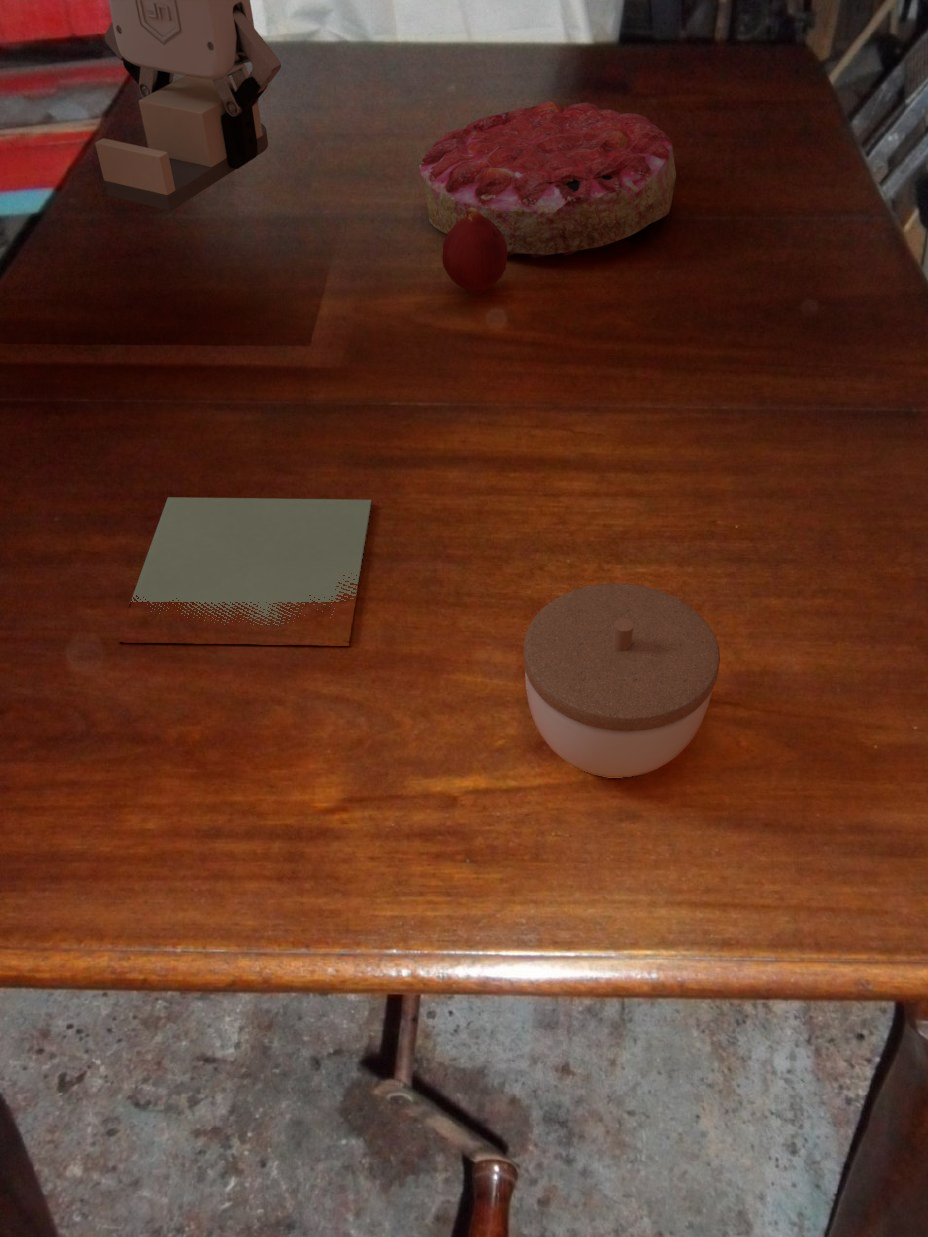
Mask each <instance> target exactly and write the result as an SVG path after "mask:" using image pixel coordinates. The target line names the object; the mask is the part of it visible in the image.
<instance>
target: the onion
mask: <svg viewBox="0 0 928 1237" xmlns="http://www.w3.org/2000/svg"><path fill="white" fill-rule="evenodd" d="M465 213H466V214H467V215H466V217H465V218H463V219H461V220H460V221H458V222H457V223H456V224H455V225H454V226H453V227H452V229H451V230H450V231H449V232H448V234H446V236H445V238H444V241H443V244H442V254H441V256H442V257H441V259H442V266H443V269H444V270H445V272H446V274H447V275H448V277H449V278H450V279H451V281H452V282H453V283H455V284H456V285H457V286H459V287H461V288H462V289H464V290H465V291H466V292H467V293H468V294H469V295H471V296H478V295H481V294H482V293H483V292H486V291H487V290H489V289H491V288H492V287H493V286H494V285H495V284H496V283H497V282H498V281H499V280H501V278H502V277H503V275H504V272H505V271H506V267H507V261H508V256H507V255H508V251H507V244H506V241H505V238H504V236H503V235H502V233H501V232H500V230H499V229H498V228H497V227H496V226H495V224H494V223H493V222H492V221H491V220H489V219H488V218H486V217H484V216H483V215H482V214H481V213H480V212H479V211H478V210H477V209H476V208H469V209H467V210H466V211H465Z"/></svg>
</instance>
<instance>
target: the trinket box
mask: <svg viewBox="0 0 928 1237" xmlns="http://www.w3.org/2000/svg"><path fill="white" fill-rule="evenodd" d="M720 651H721V650H720V645H719V643H718V639H717V637H716V635H715V633H714V631H713V629H712V628H711V625H709V623H708V622H707V621H706V620H705V618H704V617H703V616H702V615H701V614H700V613H698V611H696V609H694V608H693V607H692V606H690V605H689V604H687V603H685V601H682V600H681V599H679V598H677V597H675V596H673V595H671V594H670V593H667V592H665V591H662V590H658V589H656V588H652V587H649V586H645V585H641V584H639V585H638V584H631V583H620V582H618V583H617V582H612V583H611V582H610V583H598V584H591V585H586V586H583V587H579V588H575V589H573V590H570V591H567V592H565V593H564V594H561V595H558V597H556V598H554V599H552V600H551V601H550V602H548V603H546V605H545V606H543V608H541V609H540V610H539V612H538V613H537V614H535V616H534V617H533V618H532V620H531V621H530V623H529V625H528V627H527V629H526V632H525V635H524V640H523V654H522V655H523V656H522V657H523V664H524V678H525V680H524V681H525V690H526V697H527V703H528V707H529V710H530V714H531V716H532V720H533V722H534V725H535V727H536V729H537V731H538V732H539V734H540V735H541V737H542V739H543V741H544V742H545V744H547V746H548V747H549V748H550V749H551V750H552V751H553V752H554V753H555V754H556V755H557V756H558V757H559V758H561V759H562V760H563V761H564V762H566V763H567V764H569V765H571V766H573V767H574V768H576V769H579V770H580V771H583V772H584V771H585V773H587V772H589V773H592V774H595V775H599V776H605V777H628V778H632V776H633V777H636V776H641V775H645V774H648V773H651V772H654V771H656V770H657V769H660V768H661V767H663V766H665V765H667V764H668V763H670V762H671V761H673V760H674V759H676V758H677V757H678V756H679V755H680V754H681V752H683V751H684V749H686V747H687V746H688V745H689V744H690V743H691V742H692V740H693V739H694V737H695V736H696V734H697V732H698V730H699V728H700V727H701V725H702V723H703V721H704V718H705V715H706V713H707V710H708V708H709V705H710V701H711V699H712V698H711V697H712V694H713V690H714V688H715V684H716V682H717V680H718V676H719V670H720V664H721V652H720ZM589 773H588V774H589Z"/></svg>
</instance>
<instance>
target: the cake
mask: <svg viewBox="0 0 928 1237" xmlns="http://www.w3.org/2000/svg"><path fill="white" fill-rule="evenodd" d="M418 166H419V170H420V175H421V178H422V184H423V188H424V189H423V190H424V193H425V199H426V206H427V214H428V223H430V224H431V225H432V226H433V227H434V228H435V229H437V230H438V231H440V232H442V233H444V234H446V235H447V234H448V232H449V231H450V230H451V229H452V227H453V226H454V225H455V224H456V223H457V222H458V221H460V220H461V219H463V218H465V217H466V215H467V214H466V213H465V211H466V210H467V209H469V208H476V209H477V210H478V211H479V212H480V213H481V214H482V215H483V216H484V217H486V218H488V219H489V220H491V221H492V222H493V223H494V224H495V226H496V227H497V228H498V229H499V230H500V232H501V233H502V235H503V236H504V238H505V241H506V244H507V251H508V255H507V257H509V256H514V255H521V254H524V255H526V256H528V257H529V258H531V259H536V258H540V257H544V256H549V255H554V256H558V257H562V258H565V257H567V256H570V255H573V254H575V253H578V252H581V251H583V250H589V249H594V248H601V247H603V246H607V245H610V244H612V243H615V242H618V241H621V240H622V239H626V238H628V237H631V236H633V235H635V234H636V233H638V232H640V231H642V230H644V228H646V227H647V226H649V225H651V224H652V223H655V222H657V221H659V220H660V219H662V218H664V217H665V216H667V215H669V213H670V210H671V207H672V201H673V196H674V190H675V184H676V179H677V172H676V163H675V156H674V149H673V142H672V139H671V138H670V137H669V136H668V135H667V134H666V133H665V132H664V130H662V129H660V128H659V127H657V126H656V125H654V124H653V123H652V122H651V121H650V120H649V119H648V118H647V117H646V116H644V115H641V114H638V113H629V112H627V113H622V112H619V111H616V110H613V109H609V108H608V109H601V108H600V107H598V105H596V104H594V103H590V102H580V103H574V104H570V105H566V106H563V107H562V106H560V105H559V104H557V102H555V101H543V102H541V103H540V104H539V105H535V106H530V107H525V108H521V107H520V108H516V109H514V110H510V111H507V112H503V113H498V114H494V115H489V116H484V117H479V119H476V120H474V121H473V122H470V123H469V124H467V125H466V126H465V128H457V129H454V130H451V131H449V132H446V134H444V135H443V136H442V137H440V138H439V139H438V140H437V141H435V142H434V143H433V145H432V147H431V148H429V150H428V151H427V153H426V154H425V155H424V157H423V158H422V160H421V162H420V163H419V164H418Z"/></svg>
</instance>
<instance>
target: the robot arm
mask: <svg viewBox="0 0 928 1237" xmlns="http://www.w3.org/2000/svg"><path fill="white" fill-rule="evenodd" d="M108 6H109V12H110V17H111V23H110V24H109V26H108V28H107V30H106V31H105V34H104V36H103V37H104V42H105V43H106V45H107V46H108V47H109V49H110V50H111V51H112V53H114V55H115V56H116V57H117V58H118V59H119V60H120V61H121V62H122V64H123V67H124V70H125V71H126V72H127V73H128V74H129V76H131V78H132V79H133V80H134V81H135V82H136V84H137V85H138V86H137V87H138V92H139V95H140V96H141V97H142V98H144V97H146V96H148V95H150V94H152V93H154V92H156V91H157V90H159V89H161V88H163V87H165V86H167V85H169V84H171V83H172V82H174V75H180V76H190V77H196V78H202V79H209V80H213V83H214V85H215V87H216V89H217V92H218V94H219V96H220V98H221V100H222V103H223V105H224V107H225V109H226V111H227V113H225V114H224V115H222V116H221V123H222V129H223V135H224V141H225V147H226V154H227V160H228V164H229V166H230V167H231V168H235V169H236V170H238V169H240V168H241V167H243V166H245V165H246V164H248V163H249V162H251V161H252V160H254V159H255V158H257V156H258V155H257V154H258V150H257V137H256V130H255V123H254V116H253V109H252V107H253V106H254V105H255V104H257V103H258V104H259V99H260V97H261V96H262V95H263V93H264V92H265V91H266V90H267V88H268V86H269V84H270V83H271V82H272V81H273V79H274V78H275V77H276V75H278V73H279V72H280V71H281V68H282V63H281V61H280V59H279V57H278V56H277V55H276V54H275V53H274V51H273V50H272V49H271V48H270V46H269V45H268V43H267V42H266V41H265V40H264V38H263V37H262V36H261V35H260V33H259V32H258V30H256V28H255V23H254V16H253V11H252V10H253V9H252V4H251V0H108ZM246 63H247V64H248V63H251V65H252V69H251V71H250V72H249V71H248V69H247V67H246V65H245V64H246ZM230 76H231V78H232V79H233V80H234V82H235V84H236V87H237V90H236V92H235V90H234V87H233V85H232V83H231V80H230Z"/></svg>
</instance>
